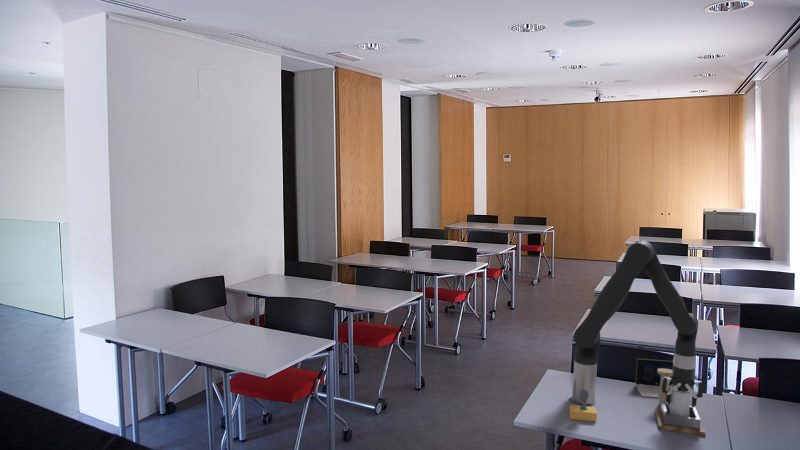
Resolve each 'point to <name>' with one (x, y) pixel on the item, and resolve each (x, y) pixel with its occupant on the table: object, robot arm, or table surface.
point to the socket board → (679, 421)
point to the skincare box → (680, 403)
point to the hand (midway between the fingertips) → (680, 404)
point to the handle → (663, 373)
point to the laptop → (650, 376)
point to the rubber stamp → (583, 409)
